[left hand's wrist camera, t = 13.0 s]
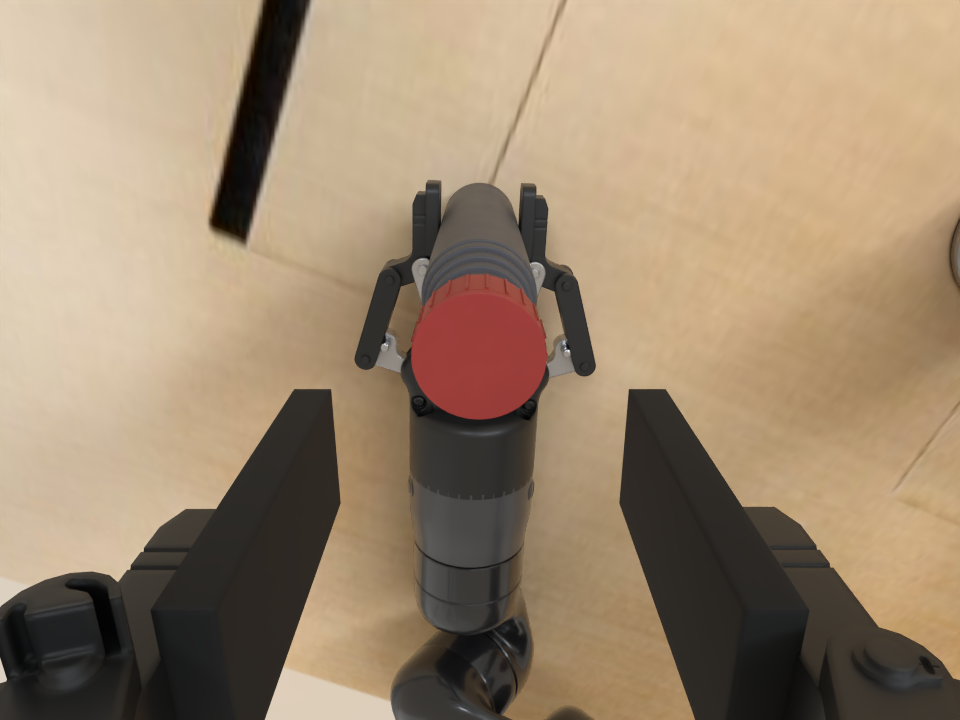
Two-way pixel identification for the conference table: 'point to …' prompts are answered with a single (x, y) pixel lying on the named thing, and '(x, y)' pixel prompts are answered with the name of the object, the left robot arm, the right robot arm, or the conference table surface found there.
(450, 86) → the conference table surface
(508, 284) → the cap
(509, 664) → the right robot arm
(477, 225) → the bottle
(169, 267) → the conference table surface
